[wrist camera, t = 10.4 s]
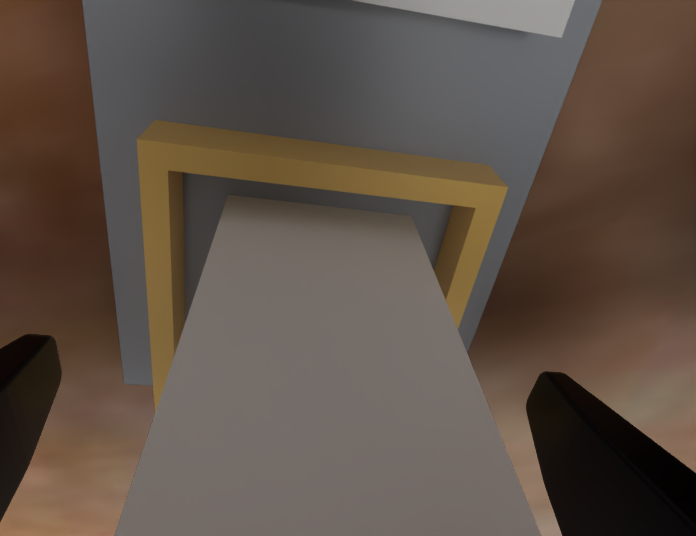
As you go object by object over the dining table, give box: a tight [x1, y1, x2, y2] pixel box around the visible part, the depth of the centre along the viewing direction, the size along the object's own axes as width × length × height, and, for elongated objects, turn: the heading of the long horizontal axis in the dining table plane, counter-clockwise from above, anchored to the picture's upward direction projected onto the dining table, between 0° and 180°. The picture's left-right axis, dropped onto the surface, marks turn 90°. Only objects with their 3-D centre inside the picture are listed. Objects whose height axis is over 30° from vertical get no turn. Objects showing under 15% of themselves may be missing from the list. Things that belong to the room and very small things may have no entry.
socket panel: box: [82, 0, 602, 412], centre depth 9 cm, size 17×9×2 cm, turn 171°
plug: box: [114, 195, 541, 536], centre depth 8 cm, size 5×4×8 cm
